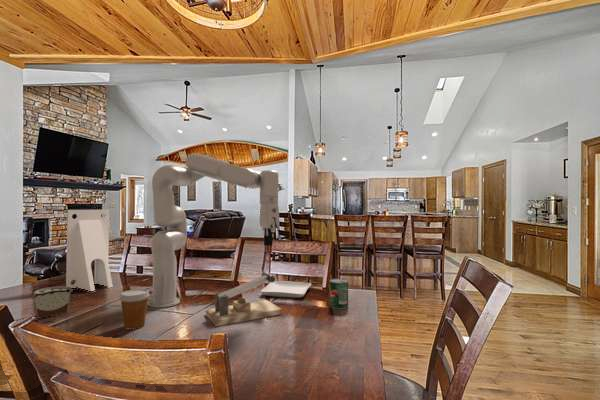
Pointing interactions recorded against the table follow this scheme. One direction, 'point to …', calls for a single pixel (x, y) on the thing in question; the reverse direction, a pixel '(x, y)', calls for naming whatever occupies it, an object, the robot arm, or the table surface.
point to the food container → (52, 300)
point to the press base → (244, 316)
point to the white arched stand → (88, 249)
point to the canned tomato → (339, 293)
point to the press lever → (248, 285)
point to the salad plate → (286, 289)
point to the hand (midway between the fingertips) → (268, 245)
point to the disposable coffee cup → (134, 307)
